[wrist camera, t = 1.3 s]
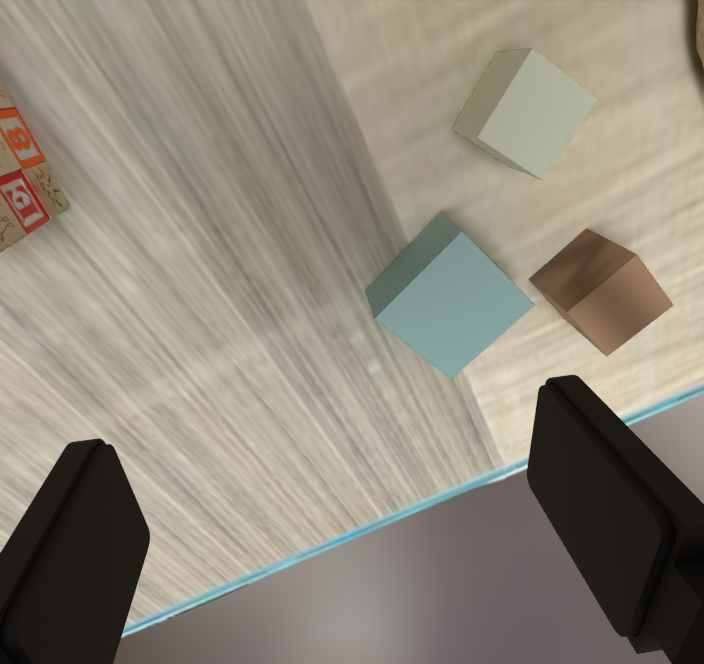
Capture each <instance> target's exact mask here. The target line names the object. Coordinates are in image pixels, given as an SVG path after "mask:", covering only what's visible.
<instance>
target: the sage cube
mask: <svg viewBox="0 0 704 664" xmlns="http://www.w3.org/2000/svg"><path fill="white" fill-rule="evenodd" d="M597 101H598V98H597V97H595V96H594V95H593V94H591V93H590V92H589V91H588V90H586V89H585V88H584V87H582V86H581V85H580V84H579V83H577V82H576V81H575V80H573V79H572V78H571V77H570V76H568V75H567V74H566V73H564V72H563V71H562V70H561V69H559V68H558V67H557V66H555V65H554V64H553V63H552V62H550V61H549V60H548V59H546V58H545V57H544V56H543V55H541V54H540V53H539V52H537V51H536V50H535V49H534V48H527V49H519V50H511V51H502V52H497V53H496V54H495V56H494V58H493V60H492V61H491V63H490V65H489V66H488V68H487V70H486V71H485V73H484V75H483V76H482V78H481V80H480V81H479V83H478V85H477V87H476V88H475V90H474V92H473V93H472V95H471V97H470V98H469V100H468V102H467V103H466V105H465V107H464V109H463V110H462V112H461V114H460V115H459V117H458V119H457V120H456V122H455V124H454V125H453V127H452V130H454V131H455V132H457V133H458V134H460V135H461V136H463V137H464V138H466V139H467V140H469V141H471V142H472V143H474V144H475V145H477V146H478V147H480V148H481V149H483V150H484V151H486V152H487V153H489V154H490V155H492V156H494V157H495V158H497V159H498V160H500V161H501V162H503V163H504V164H506V165H507V166H509V167H511V168H514V169H516V170H519V171H521V172H523V173H526V174H528V175H531V176H533V177H535V178H538V179H540V180H543V178H544V177H545V175H546V174H547V172H548V171H549V170H550V168H551V167H552V165H553V164H554V162H555V161H556V159H557V158H558V157H559V155H560V154H561V152H562V151H563V149H564V148H565V147H566V145H567V144H568V142H569V141H570V139H571V138H572V137H573V135H574V134H575V132H576V131H577V129H578V128H579V127H580V125H581V124H582V122H583V121H584V119H585V118H586V116H587V115H588V114H589V112H590V111H591V109H592V108H593V106H594V105H595V104H596V102H597Z"/></svg>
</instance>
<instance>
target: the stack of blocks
mask: <svg viewBox="0 0 704 664" xmlns="http://www.w3.org/2000/svg"><path fill="white" fill-rule="evenodd" d="M68 208H70V205H69V203H68V201H67V199H66V198H65V196H64V194H63V192H62V191H61V189H60V187H59V185H58V184H57V182H56V180H55V178H54V176H53V175H52V173H51V171H50V169H49V168H48V166H47V164H46V162H45V158H44V156H43V154H42V153H41V151H40V149H39V147H38V146H37V144H36V142H35V140H34V138H33V137H32V135H31V133H30V131H29V130H28V128H27V126H26V124H25V123H24V121H23V119H22V117H21V116H20V114H19V112H18V110H17V109H16V108H15V105H14V103H13V101H12V100H11V98H10V96H9V94H8V92H7V90H6V88H5V87H4V85H3V83H2V82H1V80H0V252H2V251H4V250H5V249H6V248H7V247H10V246H11V245H12V244H14V243H16V242H18V241H19V240H21V239H22V238H24V237H25V235H27V234H29V233H30V232H32V231H33V230H35V229H36V228H38V227H39V226H41V225H42V224H44V223H45V222H47V221H48V220H49V219H52V218H54V217H56V216H57V215H59V214H61V213H62V212H64V211H65V210H67V209H68Z"/></svg>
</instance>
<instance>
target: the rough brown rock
mask: <svg viewBox="0 0 704 664" xmlns="http://www.w3.org/2000/svg"><path fill="white" fill-rule="evenodd" d="M696 45H697V52H698V54H699V56H700V59H701V61H702V63H703V68H704V0H698V12H697V23H696Z"/></svg>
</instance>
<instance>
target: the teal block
mask: <svg viewBox="0 0 704 664" xmlns="http://www.w3.org/2000/svg"><path fill="white" fill-rule="evenodd" d="M365 293H366V296H367V298H368V301H369V304H370V307H371V310H372V313H373V316H374V319H375V320H376V321H378V322H379V323H380V324H381V325H383V326H384V327H385V328H386V329H388V330H389V331H390V332H391V333H393V334H394V335H395V336H397V337H398V338H399V339H400V340H402V341H403V342H404V343H405V344H407V345H408V346H409V347H410V348H412V349H413V350H414V351H415V352H417V353H418V354H419V355H421V356H422V357H423V358H424V359H426V360H427V361H428V362H429V363H431V364H432V365H433V366H434V367H436V368H437V369H438V370H440V371H441V372H442V373H443V374H445V375H446V376H447V377H448V378H450V379H452V378H453V377H454V376H456V375H457V374H458V373H459V372H460V371H461V370H462V369H463V368H465V367H466V366H467V365H468V364H469V363H470V362H471V361H472V360H474V359H475V358H476V357H477V356H478V355H479V354H480V353H481V352H483V351H484V350H485V349H486V348H487V347H488V346H489V345H490V344H492V343H493V342H494V341H495V340H496V339H497V338H498V337H499V336H501V335H502V334H503V333H504V332H505V331H506V330H507V329H508V328H510V327H511V326H512V325H513V324H514V323H515V322H516V321H517V320H519V319H520V318H521V317H522V316H523V315H524V314H525V313H526V312H528V311H529V310H530V309H531V308H532V307H533V306H534V305H535V304H534V303H533V302H532V301H531V300H530V299H529V298H528V297H527V296H526V295H525V294H524V293H523V292H522V291H521V290H520V289H519V288H518V287H517V286H516V285H515V284H514V283H513V282H512V281H511V280H510V279H509V278H508V277H507V276H506V275H505V274H504V273H503V272H502V271H501V270H500V269H499V268H498V267H497V266H496V265H495V264H494V263H493V262H492V261H491V260H490V259H489V258H488V257H487V256H486V255H485V254H484V253H483V252H482V251H481V250H480V249H479V248H478V247H477V246H476V245H475V244H474V243H473V242H472V241H471V240H470V239H469V238H468V237H467V236H466V235H465V234H464V233H463V231H461V230H460V229H459V228H458V227H457V226H456V225H455V224H454V223H453V222H451V221H450V220H449V219H448V218H447V217H446V216H445V215H444V214H443V213H442V212H440V213H439V214H438V215H437V216H436V217H435V218H434V219H433V220H432V221H431V222H430V223H429V225H428V226H427V227H426V228H425V229H424V230H423V231H422V232H421V233H420V234H419V235H418V236H417V237H416V238H415V239H414V240H413V241H412V242H411V243H410V244H409V245H408V246H407V247H406V248H405V249H404V251H403V252H402V253H401V254H400V255H399V256H398V257H397V258H396V259H395V260H394V261H393V262H392V263H391V264H390V265H389V266H388V267H387V268H386V269H385V270H384V271H383V272H382V273H381V274H380V275H379V277H378V278H377V279H376V280H375V281H374V282H373V283H372V284H371V285H370V286H369V287H368V288H367V289H366V290H365Z"/></svg>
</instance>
